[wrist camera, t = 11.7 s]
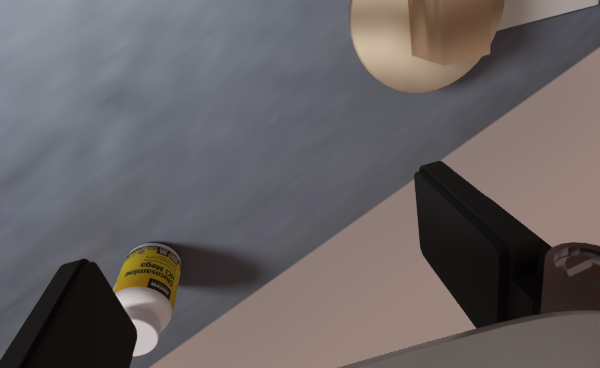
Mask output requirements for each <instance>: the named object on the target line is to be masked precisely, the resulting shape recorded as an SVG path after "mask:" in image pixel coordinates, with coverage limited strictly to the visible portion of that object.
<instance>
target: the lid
mask: <svg viewBox="0 0 600 368" xmlns="http://www.w3.org/2000/svg"><path fill="white" fill-rule="evenodd" d="M504 2H505V0H351V2H350V11H349V24H350V33H351V38H352V42H353V45H354V48H355V51H356V53H357V55H358V57H359V59H360V61H361V63H362V64H363V65H364V67H365V68H366V69H367V71H368V72H369V73H370V74H371V75H372V76H373V77H375V78H376V79H377V80H378V81H380V82H382V83H384V84H385V85H387V86H389V87H391V88H393V89H396V90H399V91H403V92H410V93H423V92H429V91H434V90H437V89H440V88H443V87H445V86H447V85H449V84H451V83H453V82H455V81H456V80H458V79H459V78H461V77H462V76H463V75H465V74H466V73H467V72H468V71H469V70H470V69H471V68H472V67H473V66H475V65H476V63H477V62H478V61H479V60H480V59H481V57H482V56H485V55H489V54H490V44H491V42H492V40H493V38H494V36H495V34H496V32H497V29H498V27H499V24H500V21H501V17H502V13H503V8H504Z"/></svg>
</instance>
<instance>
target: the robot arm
mask: <svg viewBox="0 0 600 368" xmlns="http://www.w3.org/2000/svg"><path fill="white" fill-rule="evenodd" d="M414 180H415V192H416V203H417V215H418V226H419V239H420V248H421V251H422V254H423V256H424V257H425V259H426V260H427V262H428V263H429V264H430V266H431V267H432V268H433V270H434V271H435V272H436V274H437V275H438V277H439V278H440V279H441V281H442V282H443V283H444V285H445V286H446V287H447V289H448V290H449V291H450V293H451V294H452V296H453V297H454V298H455V300H456V301H457V303H458V304H459V305H460V307H461V308H462V309H463V310H464V312H465V313H466V315H467V316H468V318H469V319H470V320H471V322H472V323H473V324H474V326H475V327H476V329H473V330H469V331H466V332H462V333H458V334H455V335H451V336H447V337H444V338H440V339H436V340H432V341H429V342H425V343H422V344H418V345H415V346H411V347H408V348H404V349H401V350H398V351H394V352H391V353H388V354H384V355H380V356H377V357H373V358H370V359H366V360H363V361H359V362H356V363H353V364H349V365H346V366H342V367H339V368H600V246H598V245H593V244H588V243H576V242H571V243H563V244H560V245H557V246H554V247H551V246H550V245H548V244H547V243H546V242H545V241H543V240H542V239H541V238H540V237H538V236H537V235H536V234H535V233H533V232H532V231H531V230H529V229H528V228H527V227H525V226H524V225H523V224H522V223H521V222H519V221H518V220H517V219H515V218H514V217H513V216H512V215H510V214H509V213H508V212H507V211H505V210H504V209H503V208H501V207H500V206H499V205H498V204H496V203H495V202H494V201H493V200H491V199H490V198H488V197H487V196H485V195H484V194H482V193H481V192H480V191H479V190H477V189H476V188H475V187H474V186H472V185H471V184H470V183H469V182H467V181H466V180H465V179H463V178H462V177H461V176H460V175H458V174H457V173H456V172H454V171H453V170H452V169H451V168H450V167H448V166H447V165H446V164H445V163H443V162H442V161H437V162H433V163H430V164H426V165H423V166H421V167H420V169H419V172H416V173H415V175H414ZM136 342H137V330H136V327H135V325H134V324H133V322H132V320H131V319H130V317H129V315H128V314H127V312H126V311H125V309H124V307H123V306H122V304H121V302H120V301H119V299H118V298H117V296H116V294H115V293H114V291H113V289H112V288H111V286H110V285H109V283H108V281H107V280H106V278H105V276H104V275H103V273H102V272H101V270H100V268H99V267H98V265H97V264H96V263H95V262H89V261H88V260H87V259H81V260H78V261H74V262H70V263H67V264H64V265H62V266H61V267H60V268H59V269H58V271H57V273H56V274H55V276H54V277H53V279H52V280H51V282H50V284H49V285H48V287H47V288H46V290H45V291H44V293H43V294H42V296H41V298H40V299H39V301H38V302H37V304H36V305H35V307H34V309H33V310H32V312H31V313H30V315H29V316H28V318H27V320H26V321H25V323H24V324H23V326H22V327H21V329H20V330H19V332H18V334H17V335H16V337H15V338H14V340H13V341H12V343H11V345H10V346H9V348H8V349H7V351H6V352H5V354H4V355H3V357H2V359H1V360H0V368H129V367H130V363H131V360H132V356H133V353H134V349H135V345H136Z"/></svg>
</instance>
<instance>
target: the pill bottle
mask: <svg viewBox="0 0 600 368" xmlns="http://www.w3.org/2000/svg"><path fill="white" fill-rule="evenodd" d="M180 273H181V260H180V258H179V256H178V254H177V253H176V252H175V251H174V250H173V249H171V248H170V247H168V246H166V245H163V244H159V243H146V244H142V245H140V246H138V247H136V248H134V249H133V250H132V251H131V252H130V253H129V255H128V256H127V258H126V260H125V262H124V265H123V267H122V269H121V272H120V274H119V276H118V279H117V281H116V283H115V286H114V288H113V291H114V293H115V294H116V296H117V298H118V299H119V301H120V302H121V304H122V306H123V307H124V309H125V311H126V312H127V314H128V315H129V317H130V319H131V320H132V322H133V324H134V325H135V327H136V330H137V342H136V345H135V349H134V353H133V356H140V355H143V354H146V353H148V352H150V351H151V350H153V349H154V347H155V346H156V345H157V343H158V340H159V336H160V333H161V331H162V330H163V329H164V328H165V327H166V326H167V325H168V323H169V322H170V319H171V316H172V312H173V307H174V302H175V298H176V293H177V288H178V283H179V278H180Z"/></svg>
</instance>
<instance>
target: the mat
mask: <svg viewBox="0 0 600 368" xmlns="http://www.w3.org/2000/svg"><path fill="white" fill-rule="evenodd" d="M594 5H598V0H505V2H504V8H503V13H502V17H501V21H500V24H499V27H498V29H497V31H499V30H502V29H506V28H510V27H514V26H518V25H521V24H525V23H529V22H533V21H537V20H541V19H544V18H548V17H552V16H556V15H560V14H563V13H567V12H571V11H575V10H579V9H583V8H586V7H590V6H594Z"/></svg>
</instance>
